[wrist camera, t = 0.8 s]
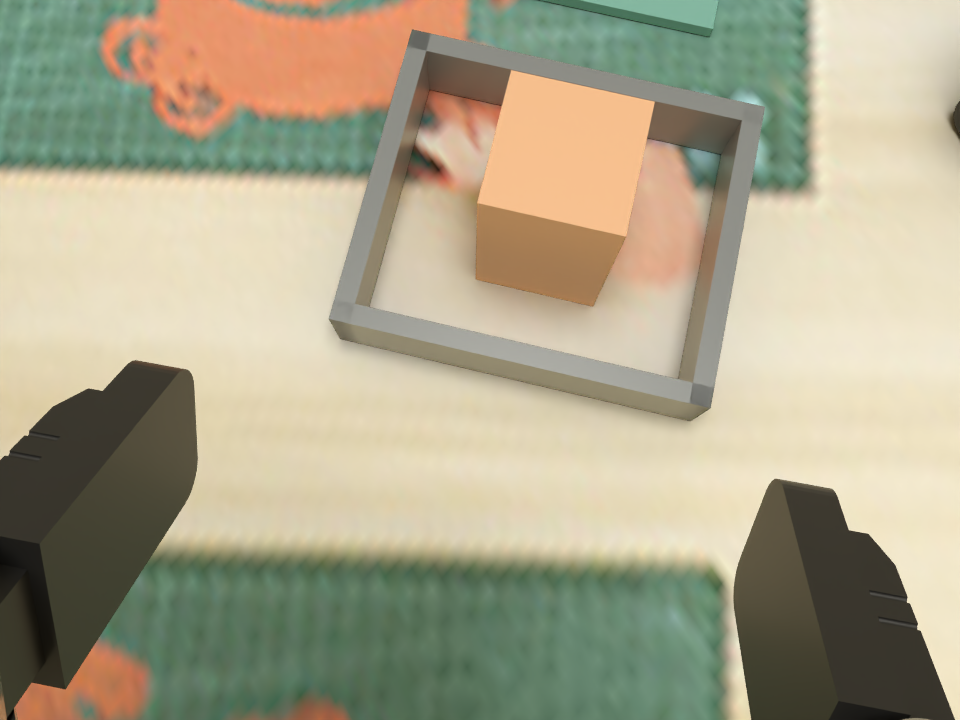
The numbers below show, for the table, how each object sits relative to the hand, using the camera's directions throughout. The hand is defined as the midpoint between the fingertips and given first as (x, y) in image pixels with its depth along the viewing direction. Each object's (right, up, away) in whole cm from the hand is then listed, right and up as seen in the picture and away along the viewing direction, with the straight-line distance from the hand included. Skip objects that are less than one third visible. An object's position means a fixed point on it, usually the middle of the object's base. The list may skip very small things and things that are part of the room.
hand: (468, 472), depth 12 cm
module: (+3, +7, +25) cm, 26 cm away
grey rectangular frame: (+3, +7, +25) cm, 26 cm away
